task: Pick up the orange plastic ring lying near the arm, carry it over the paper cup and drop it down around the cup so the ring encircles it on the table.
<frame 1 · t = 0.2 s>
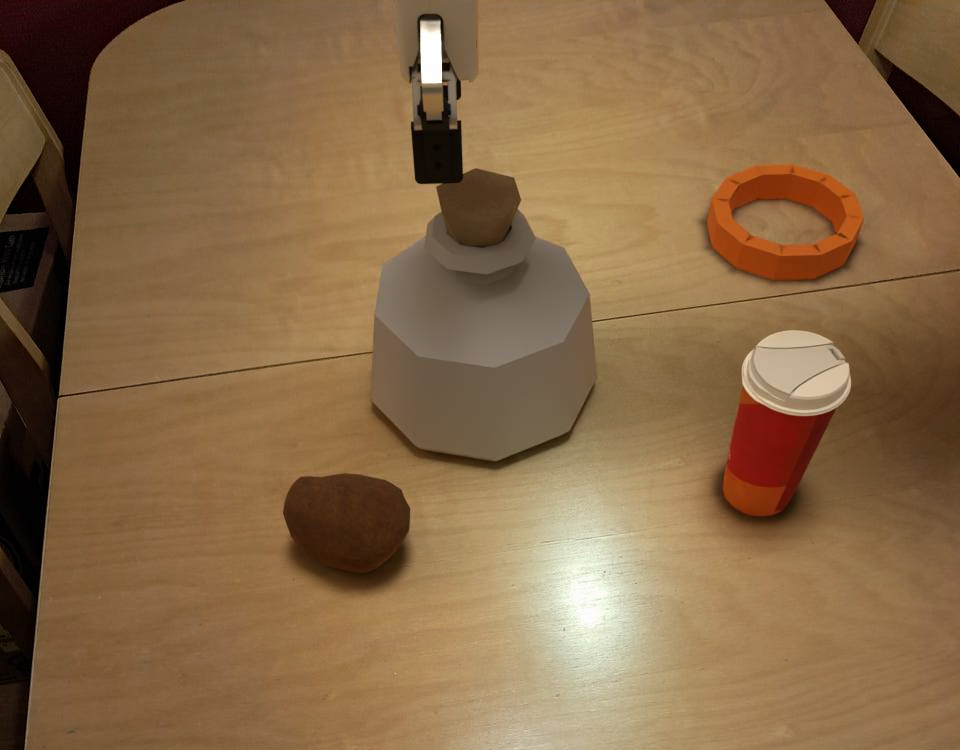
hand: (439, 138, 68), 23 cm above the table, tool pointing down, fingers open, 9 cm apart
bottle: (485, 388, 87), on the table
potato: (354, 553, 78), on the table
paper cup: (754, 493, 80), on the table
ring: (779, 235, 97), on the table
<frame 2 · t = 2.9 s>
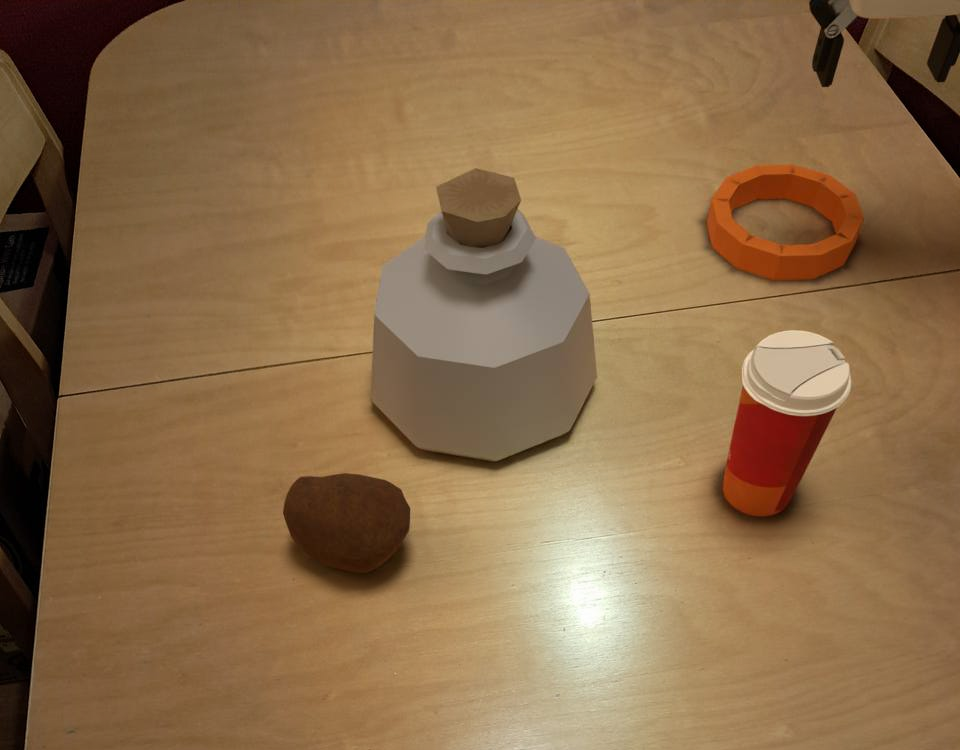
hand: (878, 76, 83), 16 cm above the table, tool pointing down, fingers open, 9 cm apart
nothing on the table moved.
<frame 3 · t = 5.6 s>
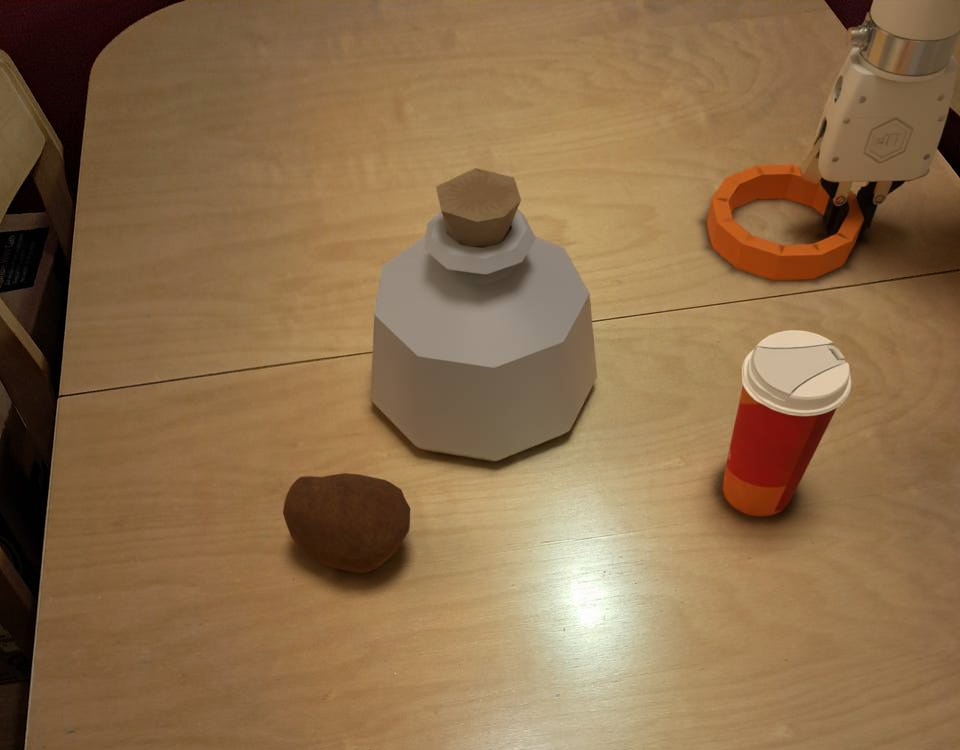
hand: (842, 232, 97), 0 cm above the table, tool pointing down, fingers closed on ring
ring: (779, 235, 97), on the table, touching gripper
everything else where it was.
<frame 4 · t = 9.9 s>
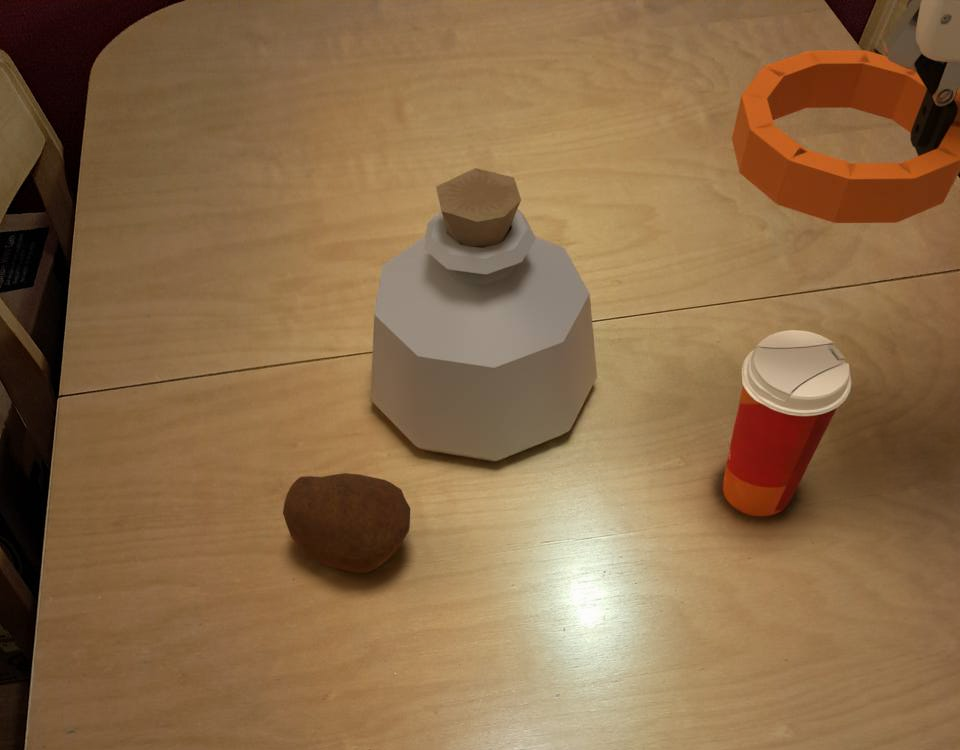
hand: (940, 153, 64), 24 cm above the table, tool pointing down, fingers closed on ring
ring: (843, 155, 64), point 24 cm above the table, touching gripper
everything else where it was.
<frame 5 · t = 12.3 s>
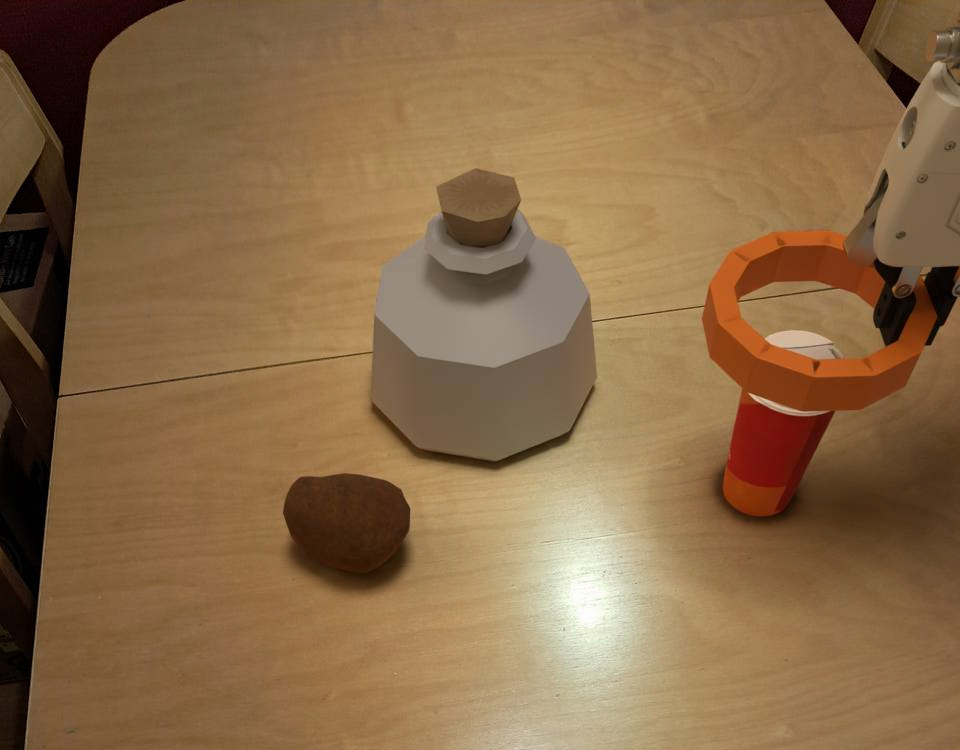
hand: (902, 330, 66), 17 cm above the table, tool pointing down, fingers closed on ring
ring: (809, 335, 66), point 16 cm above the table, touching gripper
everything else where it was.
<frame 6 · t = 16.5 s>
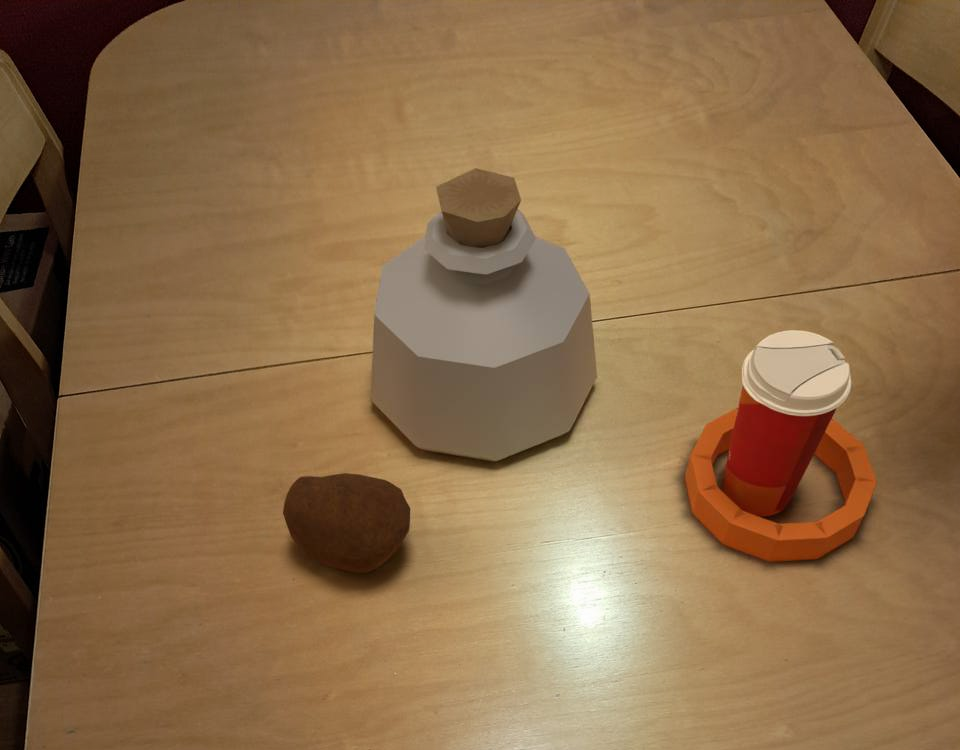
ring: (773, 492, 80), on the table
everything else where it was.
at the end: ring 1.5 cm from the paper cup (horizontally); ring on the table; paper cup tilted 0° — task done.
